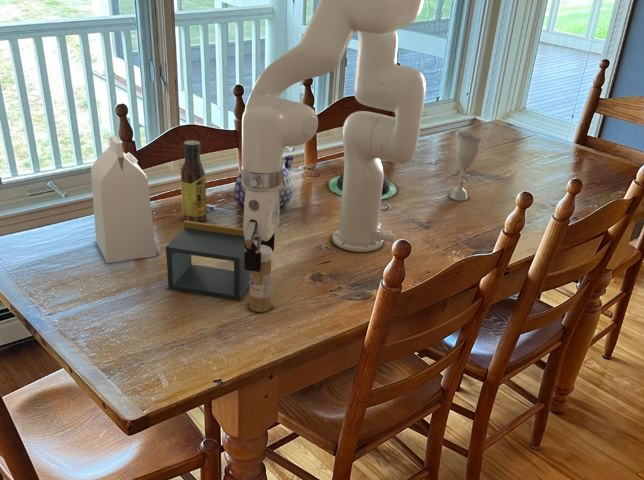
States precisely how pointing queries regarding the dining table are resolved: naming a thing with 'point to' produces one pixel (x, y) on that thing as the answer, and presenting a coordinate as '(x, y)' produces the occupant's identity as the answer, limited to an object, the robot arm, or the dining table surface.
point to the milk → (121, 206)
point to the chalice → (465, 158)
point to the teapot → (284, 190)
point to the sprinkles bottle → (261, 282)
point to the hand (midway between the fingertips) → (259, 260)
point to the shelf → (212, 245)
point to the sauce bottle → (193, 184)
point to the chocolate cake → (387, 188)
